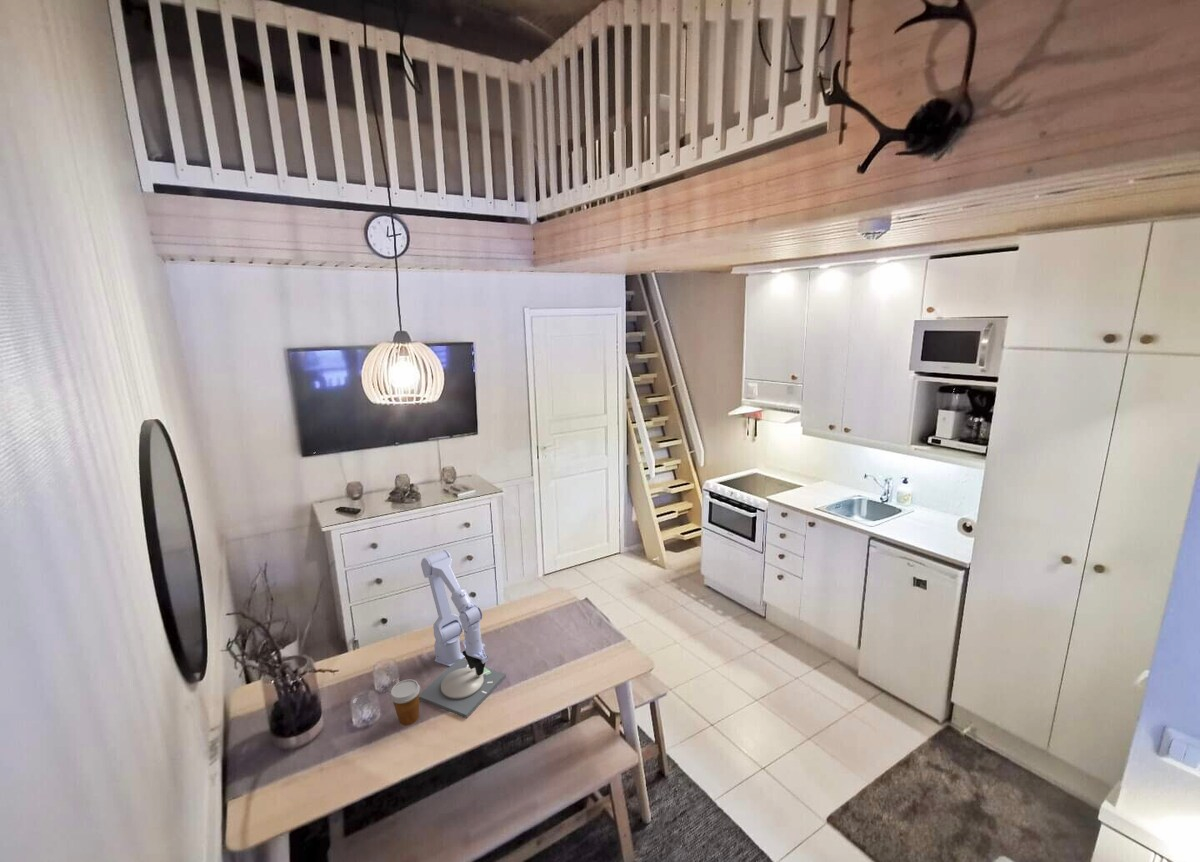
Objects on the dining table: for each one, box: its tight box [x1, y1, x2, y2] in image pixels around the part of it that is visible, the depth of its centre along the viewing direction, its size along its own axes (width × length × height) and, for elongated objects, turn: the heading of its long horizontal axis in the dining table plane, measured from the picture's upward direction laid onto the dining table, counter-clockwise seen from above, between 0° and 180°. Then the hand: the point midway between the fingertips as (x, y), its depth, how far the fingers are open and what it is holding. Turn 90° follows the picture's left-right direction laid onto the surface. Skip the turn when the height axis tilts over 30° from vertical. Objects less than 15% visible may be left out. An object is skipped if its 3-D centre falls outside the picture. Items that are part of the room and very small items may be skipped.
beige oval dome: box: [441, 668, 490, 699], centre depth 192 cm, size 18×15×6 cm
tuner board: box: [419, 658, 507, 720], centre depth 193 cm, size 22×22×2 cm
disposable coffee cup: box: [389, 678, 421, 727], centre depth 178 cm, size 10×10×12 cm
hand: (476, 670), depth 196 cm, fingers open, 5 cm apart
